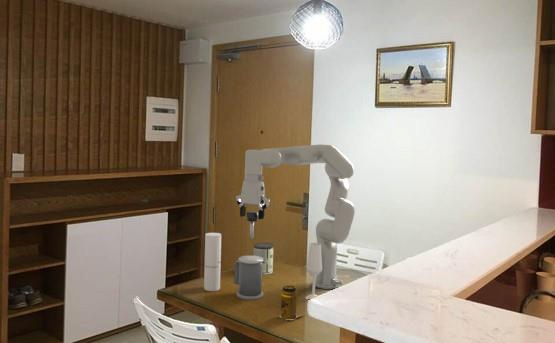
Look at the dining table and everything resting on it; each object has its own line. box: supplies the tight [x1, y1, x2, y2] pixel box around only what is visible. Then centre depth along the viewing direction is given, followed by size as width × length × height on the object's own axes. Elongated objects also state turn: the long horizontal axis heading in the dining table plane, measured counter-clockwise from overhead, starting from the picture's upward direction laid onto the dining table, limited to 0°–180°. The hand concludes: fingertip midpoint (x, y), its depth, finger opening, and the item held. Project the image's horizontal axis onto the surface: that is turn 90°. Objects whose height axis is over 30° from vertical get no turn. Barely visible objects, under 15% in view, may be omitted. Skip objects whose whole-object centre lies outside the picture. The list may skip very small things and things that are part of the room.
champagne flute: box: [305, 242, 322, 300], centre depth 215 cm, size 7×7×24 cm
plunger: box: [246, 210, 259, 239], centre depth 214 cm, size 5×5×11 cm
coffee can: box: [253, 242, 274, 275], centre depth 253 cm, size 10×10×14 cm
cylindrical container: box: [203, 232, 222, 292], centre depth 223 cm, size 7×7×25 cm
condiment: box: [280, 285, 298, 320], centre depth 192 cm, size 7×8×12 cm
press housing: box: [233, 255, 264, 301], centre depth 216 cm, size 14×12×16 cm
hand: (251, 217), depth 214 cm, fingers open, 9 cm apart
